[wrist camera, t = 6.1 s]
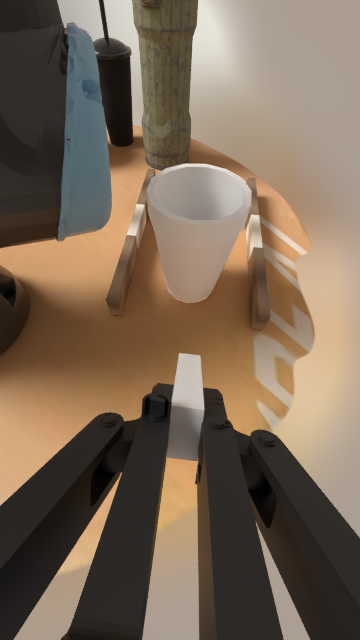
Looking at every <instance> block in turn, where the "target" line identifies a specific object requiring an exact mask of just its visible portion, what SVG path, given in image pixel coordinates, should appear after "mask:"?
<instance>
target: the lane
mask: <svg viewBox="0 0 360 640" xmlns="http://www.w3.org/2000/svg"><path fill="white" fill-rule="evenodd" d="M154 176H155V169H148V171H147V174H146V177H145V180H144V183H143V186H142V189H141V193H140V196H139V199H138V202H137V205H136V208H135V211H134V214H133V218H132V221H131V224H130V227H129V230H128V233H127V236H126V240H125V243H124V246H123V249H122V252H121V255H120V258H119V262H118V265H117V268H116V271H115V274H114V277H113V280H112V284H111V287H110V290H109V293H108V296H107V299H106V301H107V304H108V306H109V309H110V312H111V314H112V315H120V316H121V315H122V311H123V307H124V304H125V300H126V296H127V292H128V289H129V285H130V281H131V278H132V274H133V270H134V266H135V263H136V259H137V255H138V251H139V248H140V244H141V240H142V236H143V233H144V229H145V225H146V222H147V218H148V205H147V194H146V190H147V188H148V185H149V183H150V181H151V178H152V177H154ZM247 185H248V187H249V188H250V189H251V191H252V194H251V207H250V210H249V213H248V217H247V220H246V223H245V226H246V242H247V259H248V276H249V293H250V309H251V326H252V329H255V330H262V329H263V327H264V326H265V324H266V323H267V321H268V320H269V318H270V310H269V301H268V292H267V283H266V273H265V264H264V255H263V246H262V236H261V227H260V218H259V209H258V199H257V190H256V181H255V178H248V180H247Z"/></svg>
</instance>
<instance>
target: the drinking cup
mask: <svg viewBox="0 0 360 640" xmlns="http://www.w3.org/2000/svg"><path fill="white" fill-rule="evenodd" d="M99 5H100V11H101V18H102V24H103V31H104V37H105V38H100V39H97V40H95V41H94V42H93V44H94V48H95V53H96V58H97V64H98V70H99V81H100V89H101V96H102V106H103V108H104V115H105V122H106V126H107V129H108V133H109V137H110V141H111V143H112V144H113V145H116V146H127V145H130V144H132V142H133V124H132V96H131V68H130V56H131V49H130V47H128V46H126V45H125V44H123V43H122V42H120V41H119V40H116V39H113V38H109V36H108V29H107V22H106V15H105V8H104V2H103V0H99Z"/></svg>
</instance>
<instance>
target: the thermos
mask: <svg viewBox="0 0 360 640" xmlns="http://www.w3.org/2000/svg"><path fill="white" fill-rule="evenodd" d="M132 2H133V14H134V24H135V27H136V29H137V33H138V35H139V49H140V61H141V76H142V89H143V103H144V114H143V118H142V130H143V142H144V147H145V152H146V162H147V164H148V165H150V166H151V167H153V168H155V169H158V170H164V169H165V168H169V167H173V166H177V165H181V164H187V162H188V150H189V147H190V135H191V118H190V114H189V98H190V77H191V76H190V75H191V59H192V39H193V35H194V31H195V29H196V26H197V9H198V0H132Z"/></svg>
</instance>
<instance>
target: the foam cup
mask: <svg viewBox="0 0 360 640" xmlns="http://www.w3.org/2000/svg"><path fill="white" fill-rule="evenodd" d="M146 194H147V205H148V215H149V218H150V221H151V224H152V227H153V229H154V233H155V237H156V242H157V246H158V251H159V255H160V260H161V264H162V269H163V273H164V278H165V282H166V286H167V289H168V292H169V293H170V294H171V295H172V296H173V297H174V298H175V299H176V300H179V301H181V302H184V303H198V302H200V301H202V300H205V299H207V297H208V296H209V295H210V294H211V293H212V290H213V289H214V287H215V285H216V282H217V280H218V278H219V276H220V274H221V272H222V269H223V267H224V265H225V263H226V261H227V259H228V257H229V254H230V252H231V250H232V248H233V246H234V244H235V241H236V239H237V237H238V235H239V233H240V232H241V231H242V230H243V228H244V227H245V223H246V220H247V217H248V213H249V210H250V207H251V194H252V191H251V189H250V188H249V187H248V185H247V184H246V183H245V181H244V180H243V179H242V178H241V177H239V176H237V175H236V174H234V173H232V172H231V171H229V170H227V169H224V168H220V167H216V166H212V165H208V164H181V165H177V166H173V167H169V168H165V169H164V170H163V171H161V172H160V173H158V174H157V175H155V176H154V177H152V178H151V181H150V183H149V185H148V188H147V190H146Z"/></svg>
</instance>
